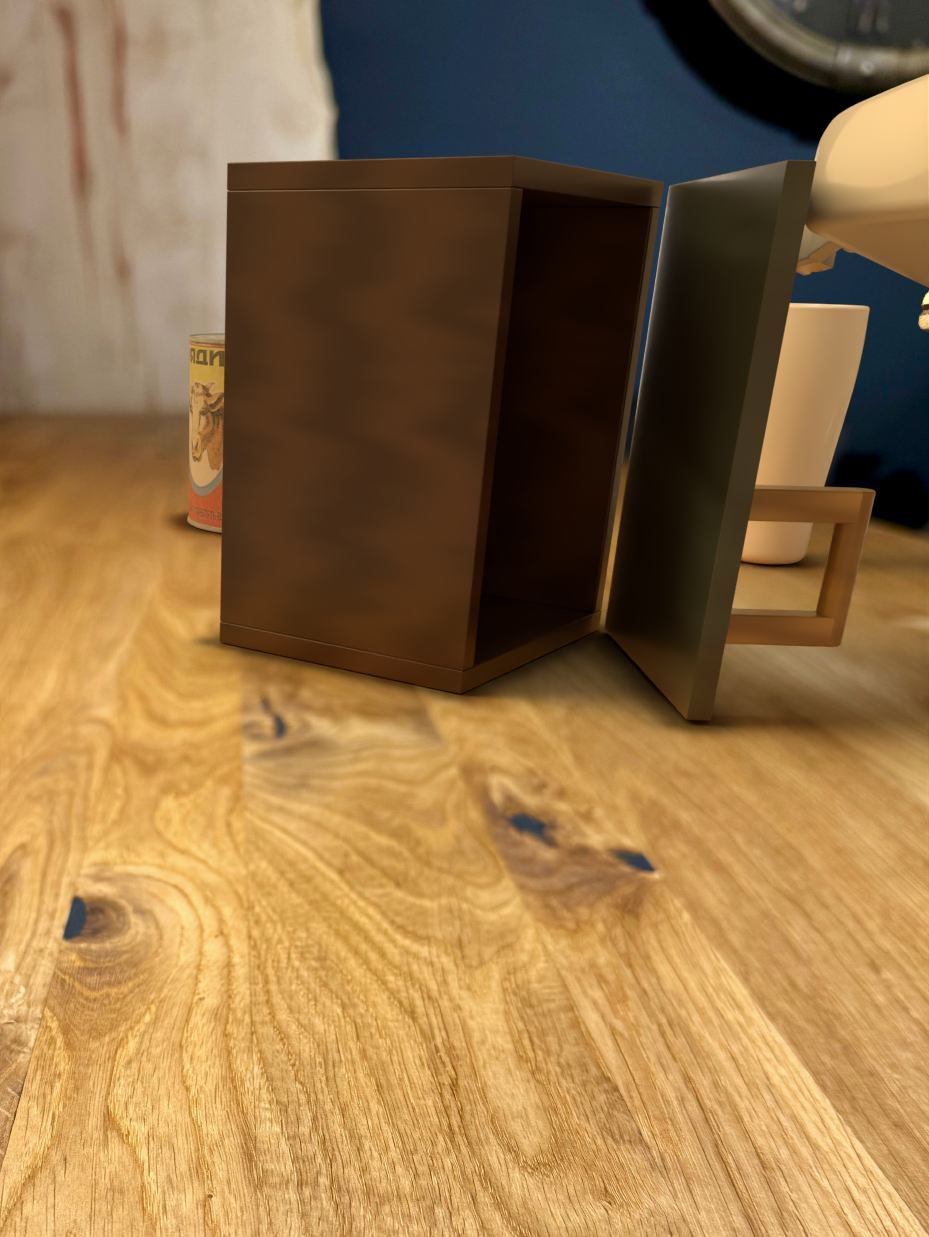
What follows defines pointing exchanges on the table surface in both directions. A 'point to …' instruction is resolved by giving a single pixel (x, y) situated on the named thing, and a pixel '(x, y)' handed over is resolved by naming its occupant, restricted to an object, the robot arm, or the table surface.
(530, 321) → the cupboard
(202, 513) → the canned food
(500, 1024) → the table surface
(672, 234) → the cupboard door
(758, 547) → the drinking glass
